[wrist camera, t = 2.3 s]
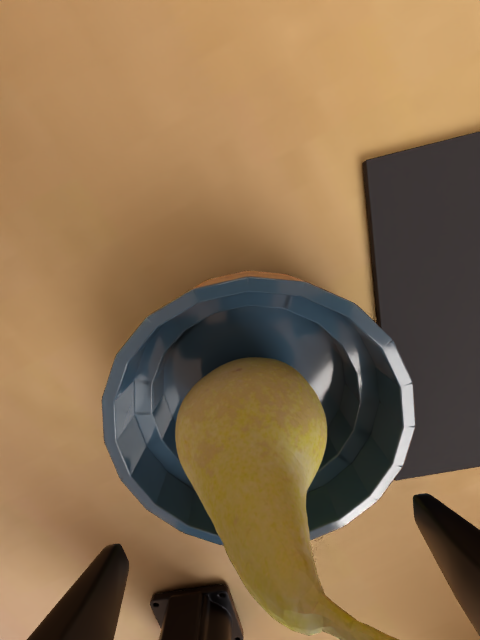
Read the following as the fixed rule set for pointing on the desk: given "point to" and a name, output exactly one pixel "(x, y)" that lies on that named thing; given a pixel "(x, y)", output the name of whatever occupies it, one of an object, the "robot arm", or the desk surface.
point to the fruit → (263, 485)
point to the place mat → (431, 291)
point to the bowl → (266, 342)
